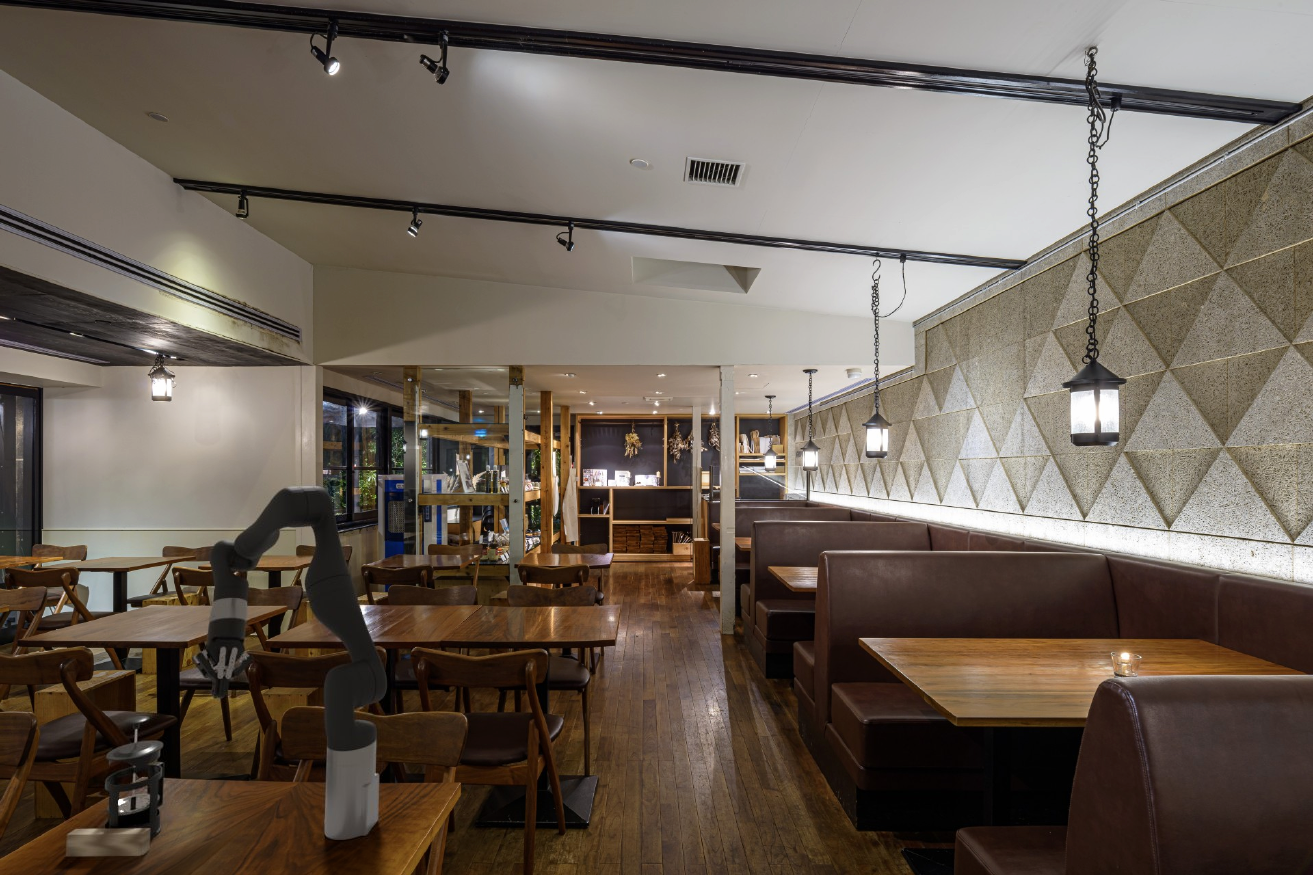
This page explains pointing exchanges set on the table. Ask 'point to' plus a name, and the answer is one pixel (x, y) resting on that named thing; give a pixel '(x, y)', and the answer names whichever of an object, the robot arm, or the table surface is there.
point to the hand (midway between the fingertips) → (219, 697)
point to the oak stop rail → (108, 842)
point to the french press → (136, 785)
